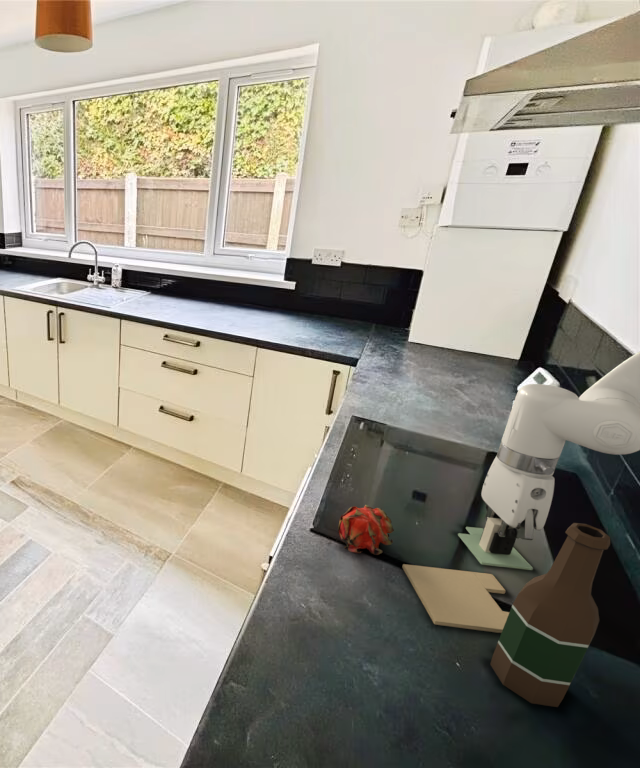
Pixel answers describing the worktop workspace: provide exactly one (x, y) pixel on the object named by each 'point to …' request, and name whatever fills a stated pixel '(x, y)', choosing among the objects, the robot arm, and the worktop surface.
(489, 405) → the worktop surface
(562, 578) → the beer bottle
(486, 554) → the sage pad
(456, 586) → the sand mat
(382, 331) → the worktop surface
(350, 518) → the dragon fruit
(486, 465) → the worktop surface
